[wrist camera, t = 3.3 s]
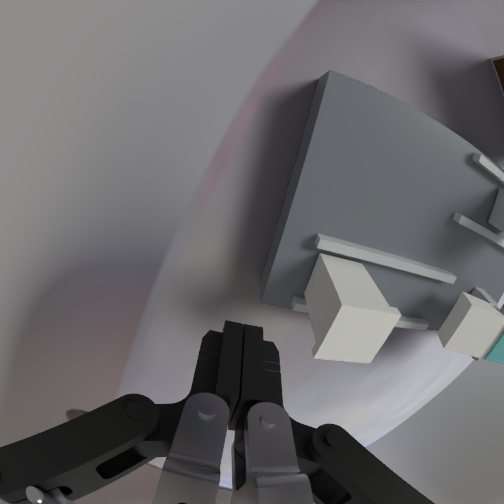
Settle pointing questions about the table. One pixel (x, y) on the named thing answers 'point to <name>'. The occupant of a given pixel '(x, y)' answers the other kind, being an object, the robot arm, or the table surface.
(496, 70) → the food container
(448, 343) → the rocker
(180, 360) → the table surface
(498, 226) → the grey slider
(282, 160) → the table surface
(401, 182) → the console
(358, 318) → the white slider
